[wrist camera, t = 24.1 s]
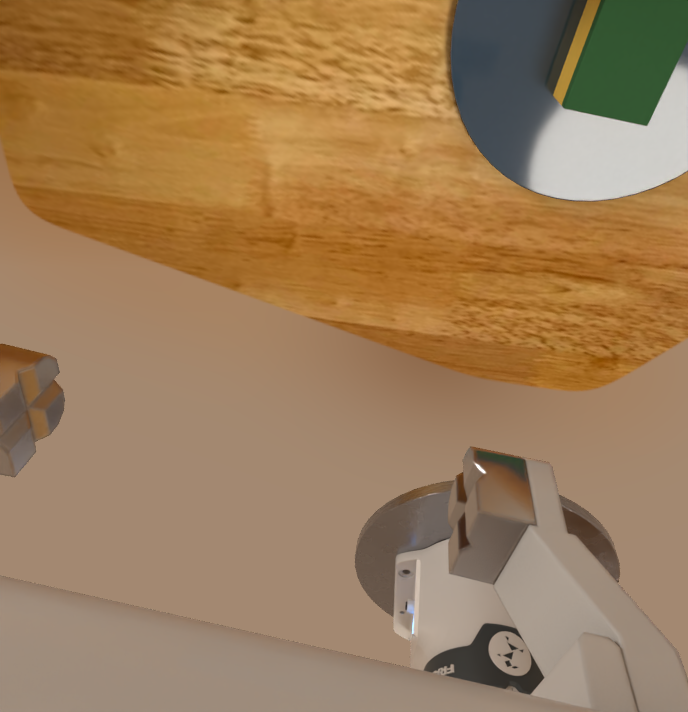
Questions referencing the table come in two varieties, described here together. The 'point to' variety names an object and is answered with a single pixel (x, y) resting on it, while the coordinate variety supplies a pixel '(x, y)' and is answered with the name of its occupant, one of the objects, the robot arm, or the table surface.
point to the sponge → (623, 58)
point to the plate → (555, 106)
